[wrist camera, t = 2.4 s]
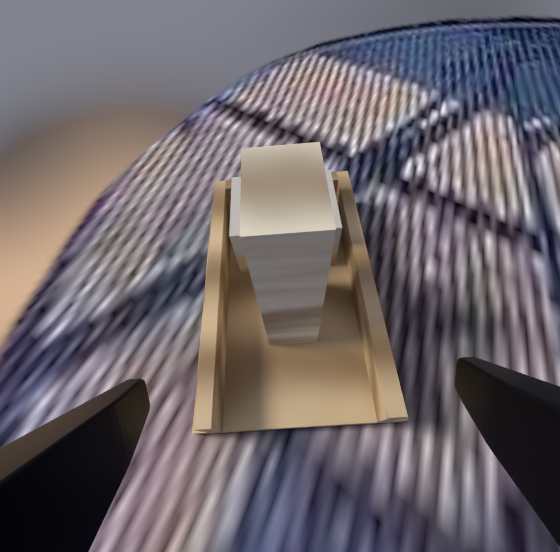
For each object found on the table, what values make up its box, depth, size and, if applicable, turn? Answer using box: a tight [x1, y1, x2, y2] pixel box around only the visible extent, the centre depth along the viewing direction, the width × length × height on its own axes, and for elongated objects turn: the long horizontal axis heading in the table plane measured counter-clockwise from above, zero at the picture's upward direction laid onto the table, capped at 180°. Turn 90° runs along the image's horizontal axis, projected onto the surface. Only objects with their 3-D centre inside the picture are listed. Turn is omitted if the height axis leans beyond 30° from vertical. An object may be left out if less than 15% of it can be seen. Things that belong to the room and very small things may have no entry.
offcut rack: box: [192, 171, 409, 434], centre depth 23 cm, size 20×14×4 cm
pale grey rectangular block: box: [240, 142, 336, 345], centre depth 18 cm, size 5×4×13 cm
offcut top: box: [229, 170, 342, 256], centre depth 24 cm, size 6×8×2 cm
